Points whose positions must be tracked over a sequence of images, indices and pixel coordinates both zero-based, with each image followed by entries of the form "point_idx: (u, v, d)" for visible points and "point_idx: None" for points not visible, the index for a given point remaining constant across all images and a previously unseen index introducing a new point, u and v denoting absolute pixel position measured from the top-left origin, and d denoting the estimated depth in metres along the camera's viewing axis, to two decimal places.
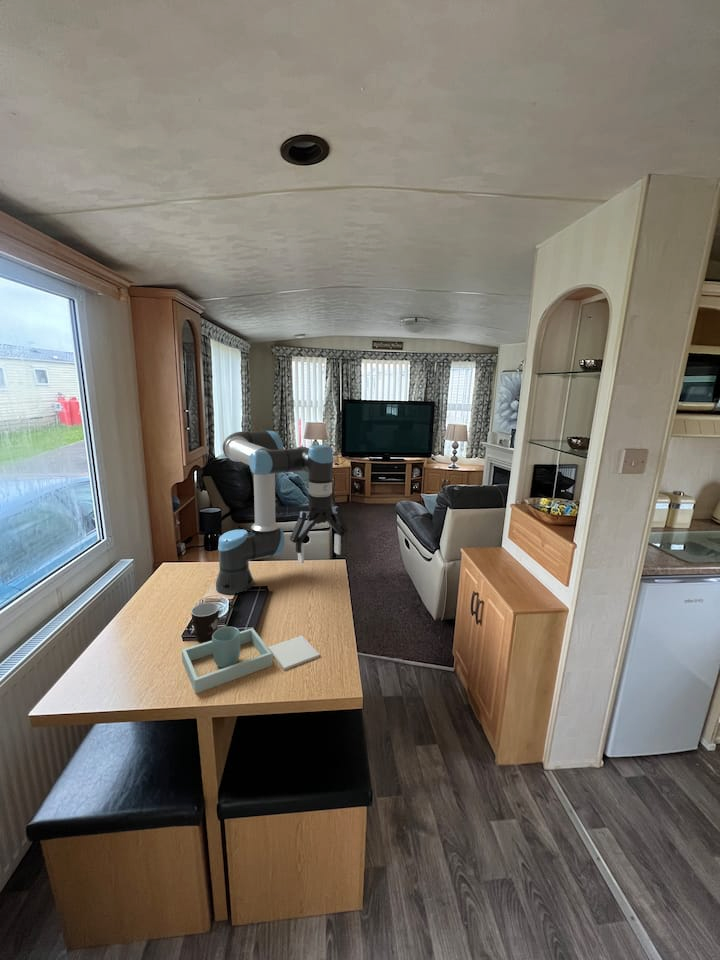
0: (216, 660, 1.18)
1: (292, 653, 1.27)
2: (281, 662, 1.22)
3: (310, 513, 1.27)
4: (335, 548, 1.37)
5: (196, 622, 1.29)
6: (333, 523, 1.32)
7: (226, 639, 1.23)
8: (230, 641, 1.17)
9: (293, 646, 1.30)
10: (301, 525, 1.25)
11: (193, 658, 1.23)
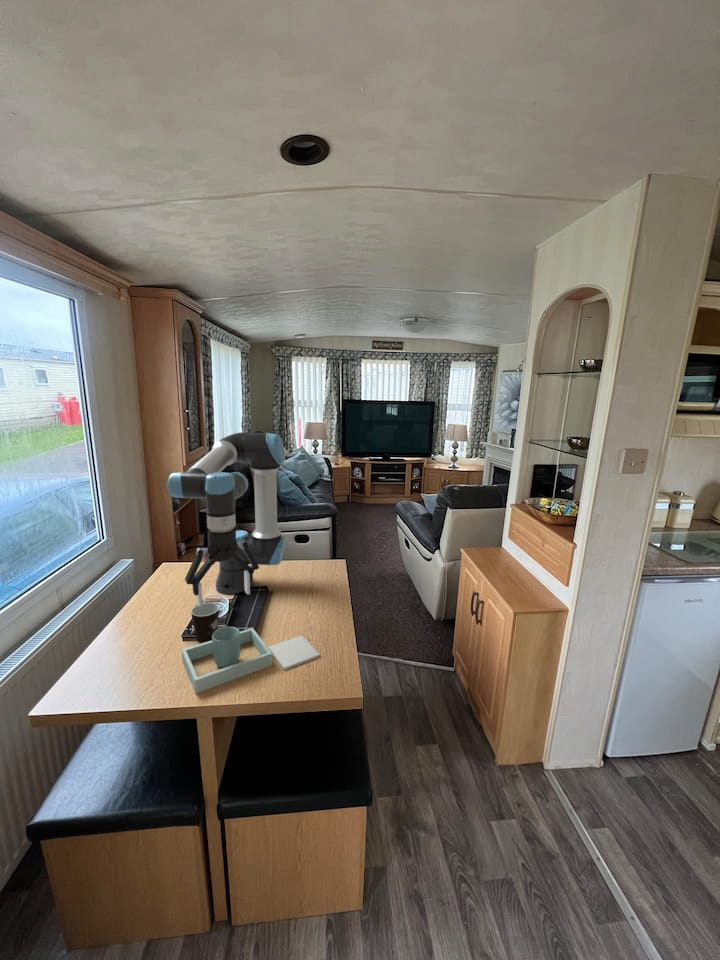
0: (216, 660, 1.18)
1: (292, 653, 1.27)
2: (281, 662, 1.22)
3: (208, 550, 1.12)
4: (245, 587, 1.21)
5: (196, 622, 1.29)
6: (239, 560, 1.17)
7: (226, 639, 1.23)
8: (230, 641, 1.17)
9: (293, 646, 1.30)
10: (197, 564, 1.10)
11: (193, 658, 1.23)
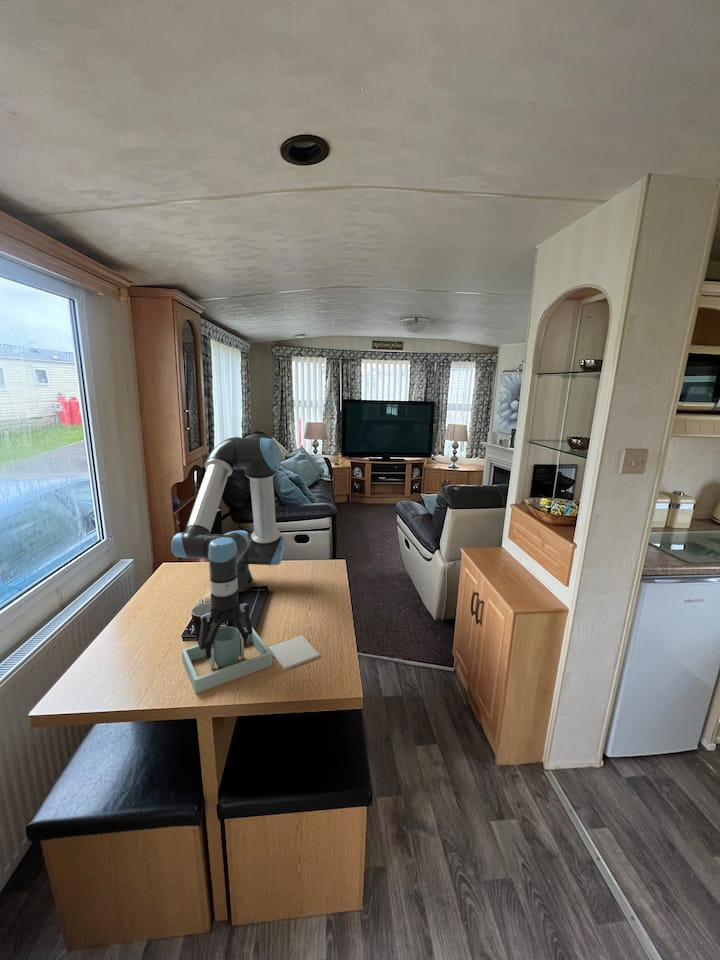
0: (216, 660, 1.18)
1: (292, 653, 1.27)
2: (281, 662, 1.22)
3: (211, 614, 1.16)
4: None
5: (196, 622, 1.29)
6: (237, 623, 1.20)
7: (226, 639, 1.23)
8: (230, 641, 1.17)
9: (293, 646, 1.30)
10: (204, 630, 1.15)
11: (193, 658, 1.23)
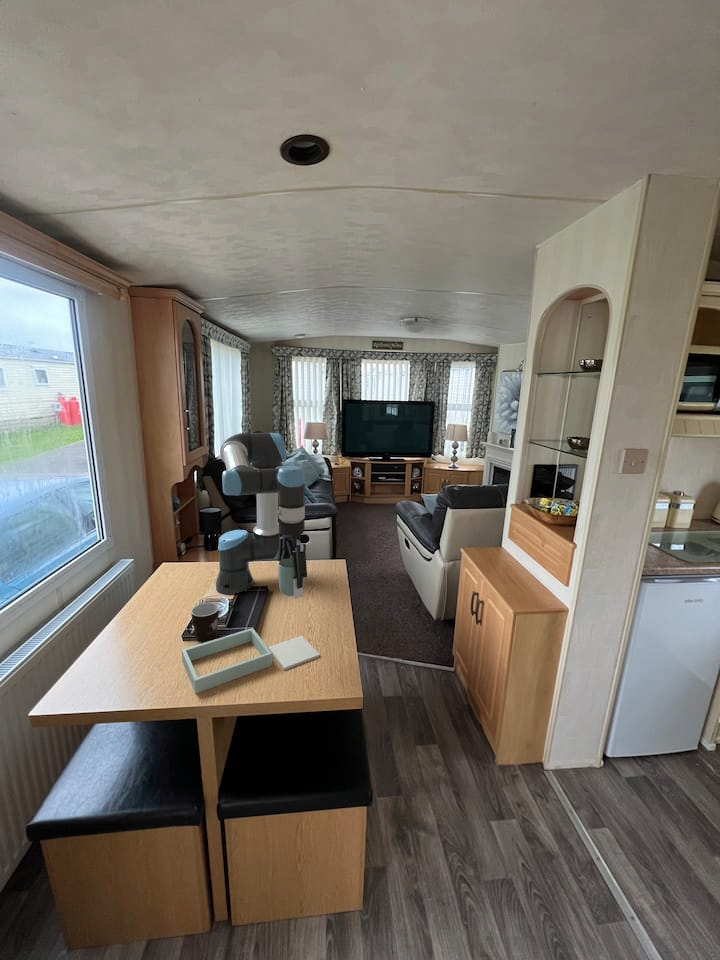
0: None
1: (292, 653, 1.27)
2: (281, 662, 1.22)
3: None
4: None
5: (196, 622, 1.29)
6: (292, 558, 1.18)
7: None
8: (279, 566, 1.19)
9: (293, 646, 1.30)
10: (279, 545, 1.25)
11: (193, 658, 1.23)
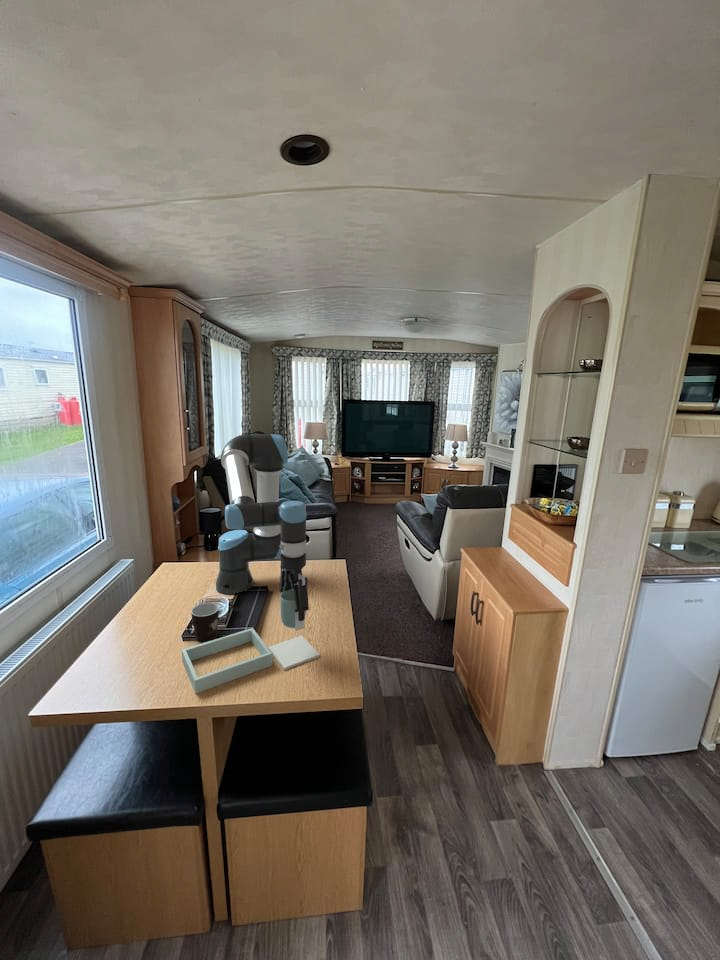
0: None
1: (292, 653, 1.27)
2: (281, 662, 1.22)
3: None
4: None
5: (196, 622, 1.29)
6: (294, 591, 1.20)
7: None
8: (281, 599, 1.22)
9: (293, 646, 1.30)
10: (281, 577, 1.28)
11: (193, 658, 1.23)
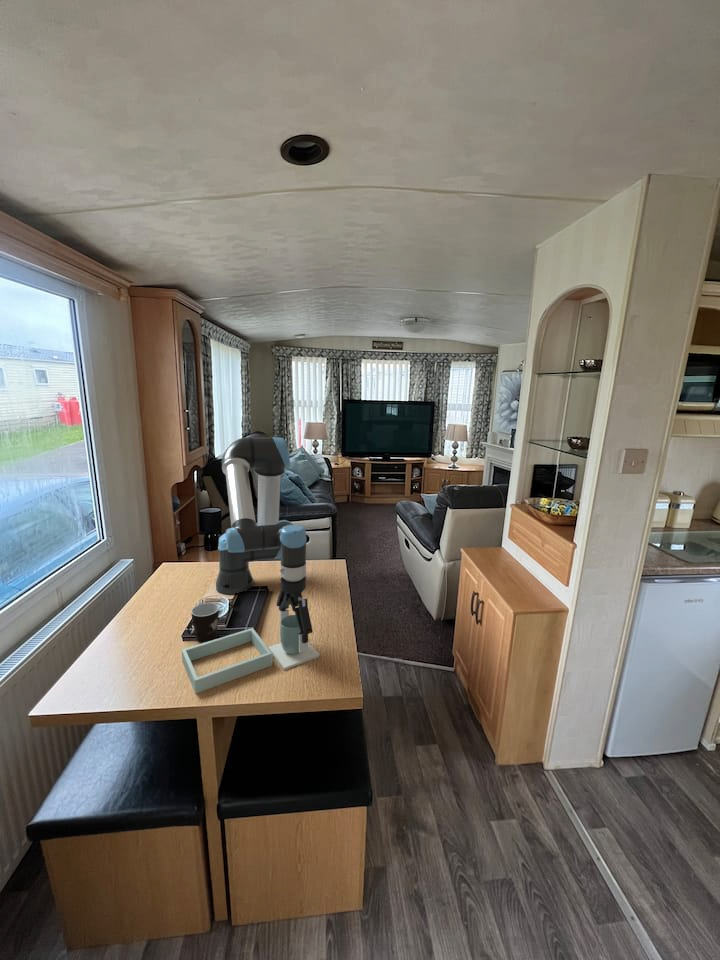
0: None
1: None
2: (281, 662, 1.22)
3: None
4: None
5: (196, 622, 1.29)
6: (296, 614, 1.21)
7: None
8: (281, 626, 1.24)
9: None
10: (280, 594, 1.30)
11: (193, 658, 1.23)
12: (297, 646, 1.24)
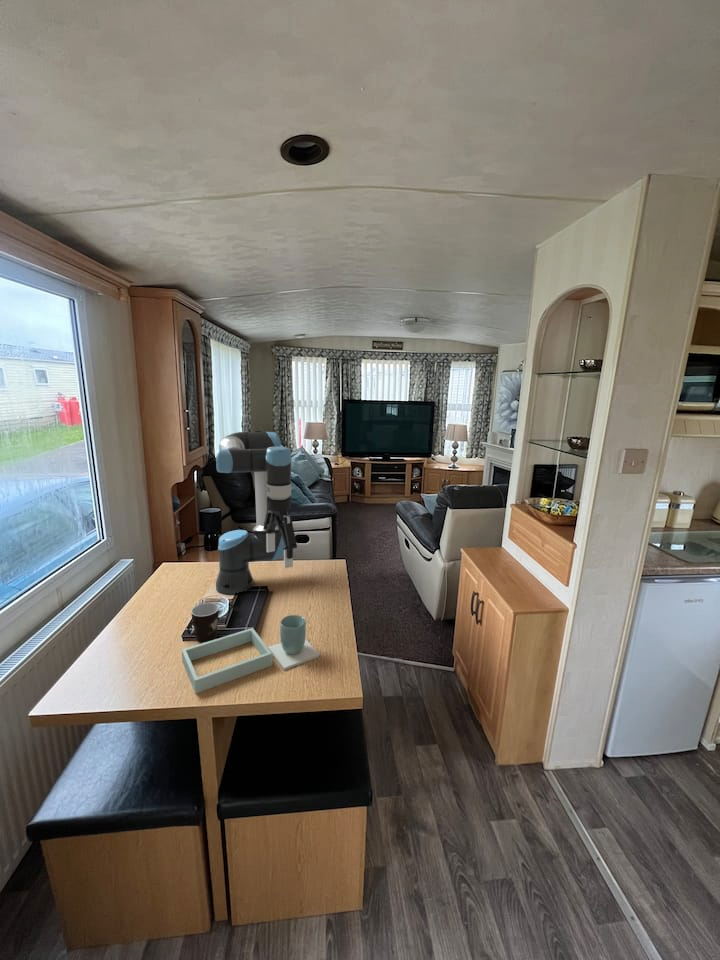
0: None
1: None
2: (281, 662, 1.22)
3: None
4: None
5: (196, 622, 1.29)
6: (281, 531, 1.26)
7: None
8: (281, 626, 1.24)
9: None
10: (266, 516, 1.35)
11: (193, 658, 1.23)
12: (297, 646, 1.24)
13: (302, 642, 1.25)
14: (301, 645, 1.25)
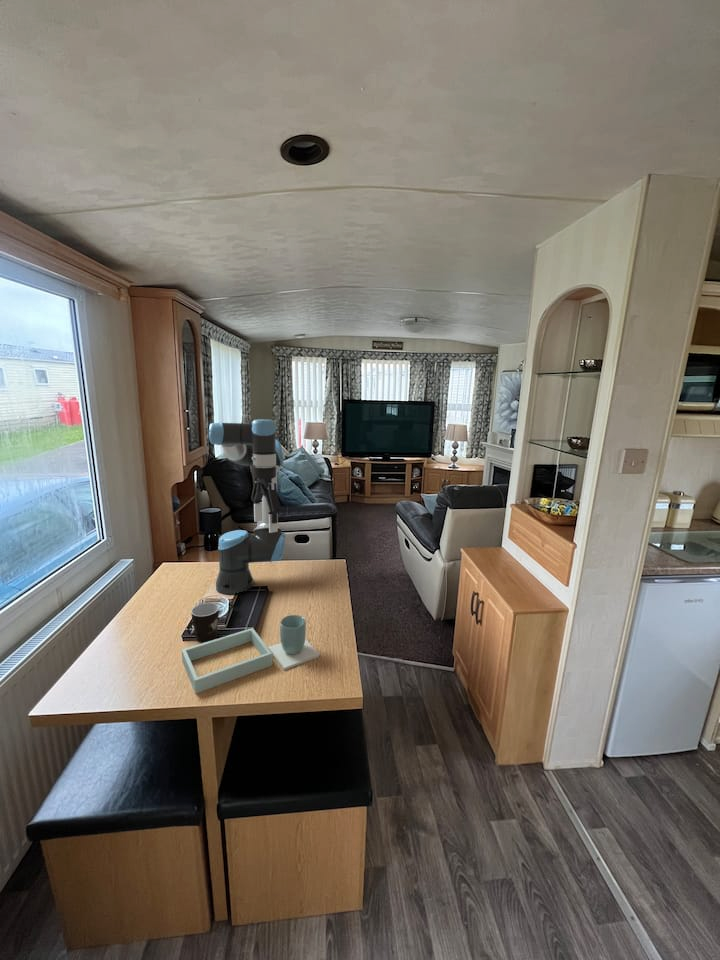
0: None
1: None
2: (281, 662, 1.22)
3: None
4: None
5: (196, 622, 1.29)
6: (266, 498, 1.34)
7: None
8: (281, 626, 1.24)
9: None
10: (253, 487, 1.43)
11: (193, 658, 1.23)
12: (297, 646, 1.24)
13: (302, 642, 1.25)
14: (301, 645, 1.25)
